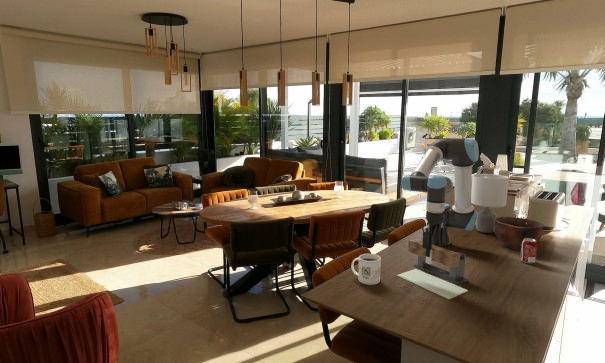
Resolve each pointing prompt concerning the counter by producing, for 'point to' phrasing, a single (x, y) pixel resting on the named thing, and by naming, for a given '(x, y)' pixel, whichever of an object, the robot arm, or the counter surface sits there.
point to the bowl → (516, 230)
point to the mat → (432, 283)
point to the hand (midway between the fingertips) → (432, 262)
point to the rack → (454, 274)
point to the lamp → (488, 198)
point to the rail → (435, 253)
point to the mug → (368, 268)
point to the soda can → (528, 250)
